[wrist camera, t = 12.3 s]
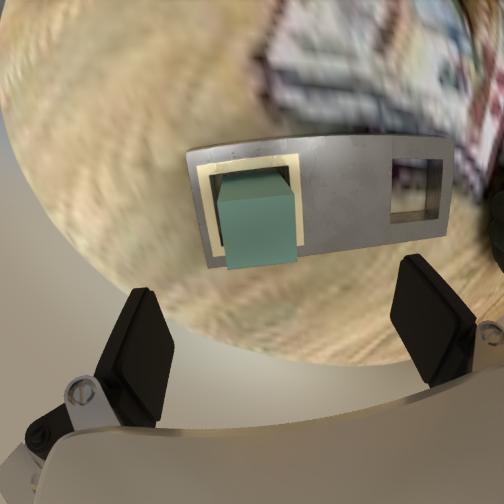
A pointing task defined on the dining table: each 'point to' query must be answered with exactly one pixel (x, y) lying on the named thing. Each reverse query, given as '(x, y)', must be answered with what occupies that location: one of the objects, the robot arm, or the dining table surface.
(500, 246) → the squash
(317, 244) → the grey peg hole board
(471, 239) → the dining table surface
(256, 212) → the peg
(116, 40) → the dining table surface
